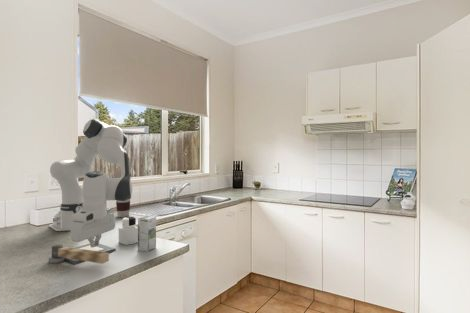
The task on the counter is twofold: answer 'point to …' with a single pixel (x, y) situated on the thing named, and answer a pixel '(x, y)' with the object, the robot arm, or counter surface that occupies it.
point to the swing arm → (79, 254)
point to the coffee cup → (123, 208)
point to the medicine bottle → (128, 231)
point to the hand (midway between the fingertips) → (94, 246)
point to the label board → (87, 247)
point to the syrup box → (146, 233)
